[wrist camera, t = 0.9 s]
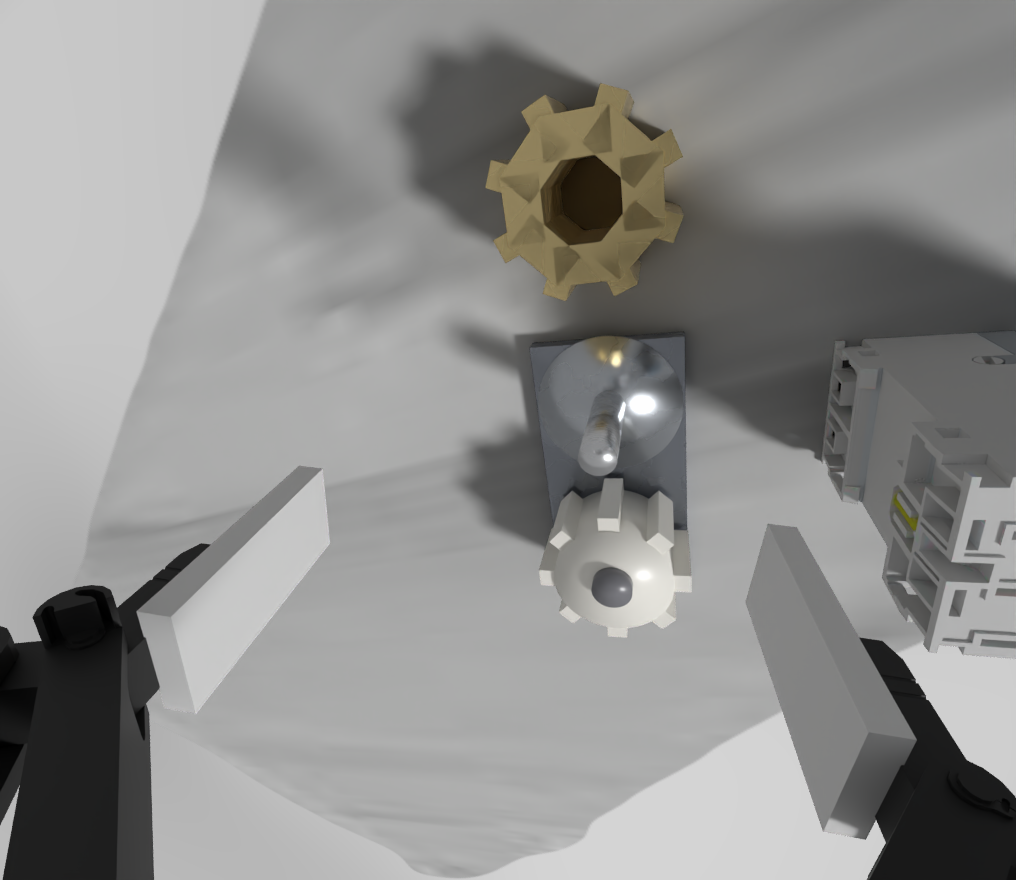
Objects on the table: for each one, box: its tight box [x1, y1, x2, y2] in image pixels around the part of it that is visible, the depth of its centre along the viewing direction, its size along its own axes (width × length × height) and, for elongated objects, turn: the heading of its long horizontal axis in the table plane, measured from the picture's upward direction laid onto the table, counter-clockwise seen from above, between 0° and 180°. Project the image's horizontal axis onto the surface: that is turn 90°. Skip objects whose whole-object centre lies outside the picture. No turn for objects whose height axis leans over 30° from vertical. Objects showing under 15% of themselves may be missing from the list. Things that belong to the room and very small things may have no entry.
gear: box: [539, 478, 691, 638], centre depth 36 cm, size 9×9×6 cm
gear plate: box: [530, 332, 687, 530], centre depth 34 cm, size 9×18×8 cm, turn 8°
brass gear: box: [485, 83, 684, 301], centre depth 28 cm, size 9×9×6 cm
